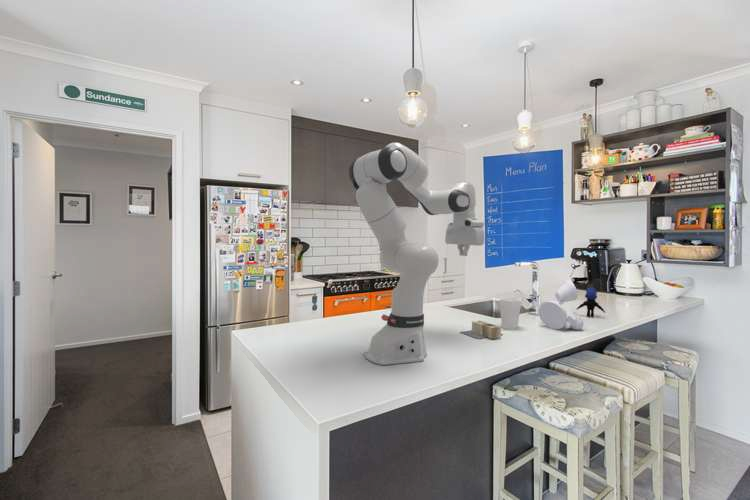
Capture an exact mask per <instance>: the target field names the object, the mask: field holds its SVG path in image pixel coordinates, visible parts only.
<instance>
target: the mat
mask: <svg viewBox="0 0 750 500" xmlns="http://www.w3.org/2000/svg"><path fill="white" fill-rule="evenodd" d="M459 334H461V335H462V334H463V335H466V336H468V337H470V338H473V339H476V340H482V339H487V338H488V337H485V336H482V335H479V334H476V333H473V332H472V329H470V330H463V331H459ZM503 335H504V334H503V333H501V336H503ZM488 339H489V338H488Z"/></svg>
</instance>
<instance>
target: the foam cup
mask: <svg viewBox="0 0 750 500" xmlns="http://www.w3.org/2000/svg"><path fill="white" fill-rule="evenodd" d="M498 304H499V310H500V311H499V313H500V319H501V329H504V330H505V329H506V330H518V325H519V324H518V323H519V319H520V312H521V307H522V299H521V298H519V297H508V296H504V297H502V296H501V297H499V299H498Z"/></svg>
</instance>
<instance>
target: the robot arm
mask: <svg viewBox="0 0 750 500" xmlns="http://www.w3.org/2000/svg"><path fill="white" fill-rule="evenodd" d="M428 175H429V167H428V163H427V162H426V161H425V160H424V159H423V158H422V157H421V156H420V155H418V154H417V153H416V152H414V150H412V149H411V148H409V147H408V146H405V145H404V144H402V143H400V142H391V143H388V144H387V145H386V146H384V147H383V148H382V149H377V150H374V151H370V152H368V153H365V154H364V155H362V156H359V157H357V158H356V159H354V160H353V161H352V162H351V163H350V165H349V167H348V176H349V179H350V181H351V183H352V185H353V187H354V188H355V190H356V192H355V200H356V201H357V204H358V207H359V209H360V212H361V214H362V217H364V219H365V221H366V222H367V224H368V226H369V227H370V230H371V231H372V233H373V235H374V237H375V238H376V240H377V242H378V245H379V248H380V253H379V261H380V264H381V266H383V268H385V269H387V270H388V271H390V272H392V273H395V274H400V276H399V280H398V283H397V286H395V287H394V288H393V289H392V291H391V303H390V304H391V305H390V306H391V309H390V310H391V312H390V314H389V315H387V314H382V315H381V320H382V321H384V322H386V324H385V325H384V326H383V327H382V328H381V329H380V330H378V331H377V332H376V333H375V334H373V336H372V337H371V339H370V342H369V348H368V349H365V350H363V354H362V355H363V357H364V358H365V359H366V360H368V361H369V362H372V363H374V364H376V365H381V366H387V365H396V364H397V365H398V364H407V363H417V362H423V361H424V360H425V357H426V356H427V355H428V352H427V349H426V344H425V339H424V338H425V337H424V326H425V325H424V324H425V314H424V295H425V288H426V285H427V282H428V280H429V278H430V276H432V274H435V272H436V271H437V269H438V266H439V261H440V259H439V254H438V253H437V251H436V250H435V249H434V248H433V247H431V246H429V245H426V244H423V243H413V242H409V241H408V239H406V235H405V231H406V228H407V223H406V221H405V219H404V217H403V216H402V214H401V212H400V210H399V209H398V206H397V204H396V203H395V202H394V200H393V198H392V196H391V195H390V194H389V193H388V191H387V184H388V183H390V182H392V181H396V180H398V181H399V182H401V183H400V184H401V185H402V187H403V188H404V190H406V191H407V192H408V193H409V194H410V196H412V197H413V198H414V199H415V200H416V201H417V202H418V203H419V204H420V205H421V207H422V209H423V210H424V211H425V213H426V214H427V215H429V216H437V215H450V214H453V217H452V220H453V221H452V222H449V224H447V228H446V230H445V237H444V238H445V241H444V242H445V243H446V244H447V245H457V249H458V251H459V255H458V256H460V257H461V256H462V257H467V256H468V252H469V250H470V248H471V247H470V246H475V247H477V246H483V245H484V243H485V228H484V227H485V221H483V220H481V219H479V218H476V212H475V207H476V203H477V202H476V201H477V200H476V189H475V185H474V184H472V183H471V182H466V181H460V182H457V183H455V185H454V186H453V187H451V188H448V189H443V190H430V189H428V188H427V187H426V186H425V185H424V183H425V182H426V180H427V177H428Z"/></svg>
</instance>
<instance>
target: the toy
mask: <svg viewBox="0 0 750 500" xmlns="http://www.w3.org/2000/svg"><path fill="white" fill-rule="evenodd" d="M585 292H586V293H585V295H584V298H586V300H585V301H583V302H582V303H581V304H580V305H579V306H577V308H576V311H577V310H579V309H582V308H583V307H586V309H587V311H586V317H588V318H590V317H591V318H594V317H595V313H594V310H595V308H597V309H599V310H600V311H602V312H603V313H606V311H605V310H604V308H603V307H602V306H601V305H600V304H599V302H597V301H596V300H597V299H598V295H597V293H598V292H597V289H596V288H595V287H587V288H586V290H585Z"/></svg>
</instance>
